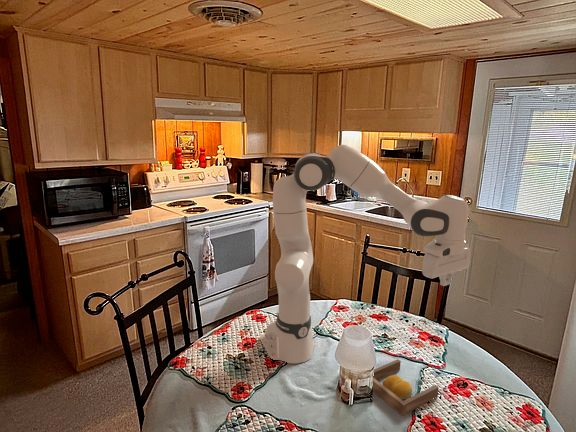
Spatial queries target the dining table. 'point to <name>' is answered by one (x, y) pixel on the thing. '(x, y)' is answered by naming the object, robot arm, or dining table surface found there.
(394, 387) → the bread roll
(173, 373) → the dining table surface
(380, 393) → the tray
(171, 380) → the dining table surface
